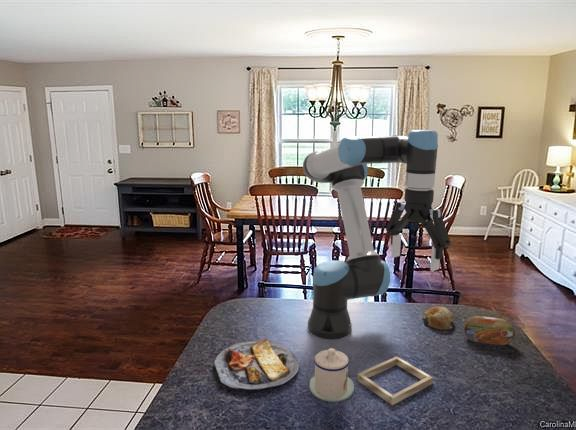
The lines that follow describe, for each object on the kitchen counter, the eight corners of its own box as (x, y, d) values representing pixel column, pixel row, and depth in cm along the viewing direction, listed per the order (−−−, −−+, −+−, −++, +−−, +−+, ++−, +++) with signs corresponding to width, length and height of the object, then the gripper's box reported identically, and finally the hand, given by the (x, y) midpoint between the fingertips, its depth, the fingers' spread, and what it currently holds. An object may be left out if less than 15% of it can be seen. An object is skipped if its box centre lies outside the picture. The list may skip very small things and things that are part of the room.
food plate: (209, 352, 135) (208, 342, 134) (279, 340, 143) (279, 331, 142) (226, 404, 112) (225, 392, 112) (309, 386, 120) (309, 375, 119)
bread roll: (443, 341, 149) (455, 324, 146) (417, 323, 153) (428, 306, 150) (449, 329, 158) (461, 313, 154) (424, 312, 161) (435, 296, 158)
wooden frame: (357, 380, 121) (357, 373, 121) (396, 362, 130) (396, 356, 130) (392, 405, 111) (392, 398, 111) (432, 383, 120) (432, 377, 119)
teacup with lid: (351, 398, 112) (353, 358, 109) (317, 401, 111) (317, 360, 108) (340, 371, 124) (342, 334, 121) (309, 374, 123) (309, 336, 120)
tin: (463, 340, 143) (465, 316, 141) (462, 336, 146) (464, 312, 144) (513, 347, 139) (516, 323, 137) (511, 342, 142) (514, 318, 140)
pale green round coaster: (300, 384, 120) (300, 381, 119) (334, 370, 126) (334, 366, 126) (328, 407, 110) (328, 404, 110) (363, 391, 117) (363, 387, 116)
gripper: (469, 193, 109) (461, 273, 114) (393, 181, 129) (390, 249, 134) (451, 196, 105) (443, 279, 110) (375, 183, 125) (372, 253, 130)
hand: (414, 262), depth 122 cm, fingers open, 13 cm apart
